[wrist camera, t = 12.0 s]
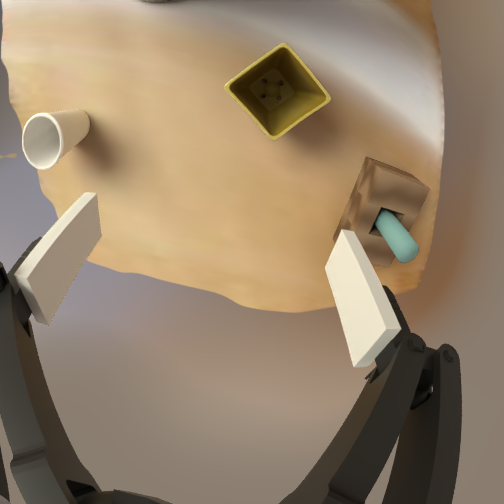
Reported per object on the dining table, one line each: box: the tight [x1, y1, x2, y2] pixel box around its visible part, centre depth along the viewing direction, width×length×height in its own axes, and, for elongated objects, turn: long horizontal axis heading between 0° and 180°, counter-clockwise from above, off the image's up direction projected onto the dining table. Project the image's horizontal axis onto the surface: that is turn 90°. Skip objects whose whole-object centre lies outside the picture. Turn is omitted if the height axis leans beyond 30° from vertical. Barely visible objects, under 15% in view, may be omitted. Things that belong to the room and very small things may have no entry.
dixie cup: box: [22, 109, 90, 170], centre depth 30 cm, size 8×8×10 cm
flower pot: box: [224, 43, 331, 141], centre depth 30 cm, size 9×9×9 cm
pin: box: [374, 207, 419, 263], centre depth 38 cm, size 4×4×12 cm
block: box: [333, 157, 430, 267], centre depth 42 cm, size 16×10×6 cm, turn 167°
